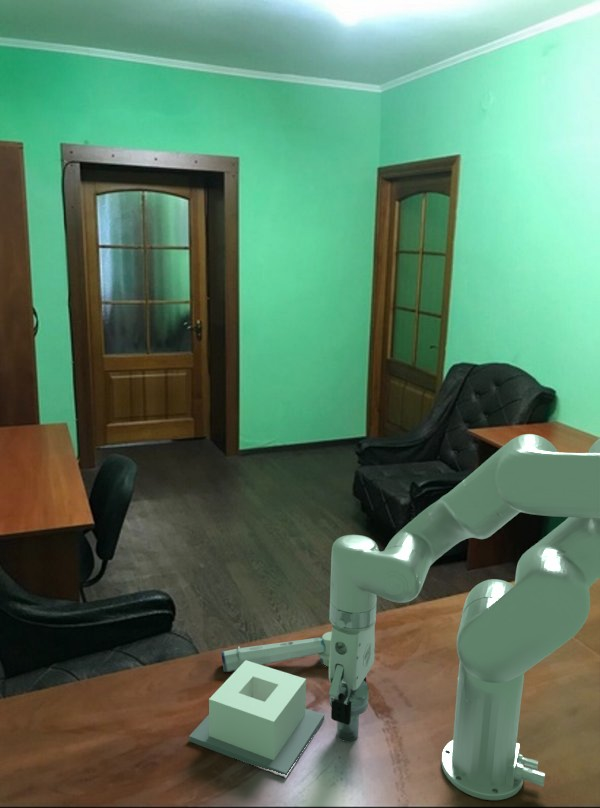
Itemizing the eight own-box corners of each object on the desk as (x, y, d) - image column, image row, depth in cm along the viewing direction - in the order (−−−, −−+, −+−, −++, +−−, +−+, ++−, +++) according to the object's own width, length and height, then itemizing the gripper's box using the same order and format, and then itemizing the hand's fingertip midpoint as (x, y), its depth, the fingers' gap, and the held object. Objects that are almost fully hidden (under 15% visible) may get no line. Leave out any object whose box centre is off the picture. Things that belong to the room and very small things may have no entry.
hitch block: (324, 719, 115) (325, 679, 113) (286, 778, 102) (286, 733, 100) (235, 689, 122) (235, 651, 121) (189, 741, 109) (188, 698, 107)
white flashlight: (220, 644, 130) (343, 621, 133) (225, 674, 132) (346, 650, 135) (221, 660, 125) (349, 635, 128) (226, 690, 127) (352, 665, 130)
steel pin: (371, 728, 113) (374, 681, 111) (358, 752, 107) (360, 704, 105) (337, 716, 116) (339, 671, 114) (322, 739, 110) (324, 692, 108)
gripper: (355, 644, 97) (351, 749, 101) (391, 593, 113) (386, 685, 117) (309, 631, 100) (306, 733, 104) (350, 583, 116) (346, 673, 120)
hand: (348, 707), depth 110 cm, fingers closed on steel pin, 6 cm apart
